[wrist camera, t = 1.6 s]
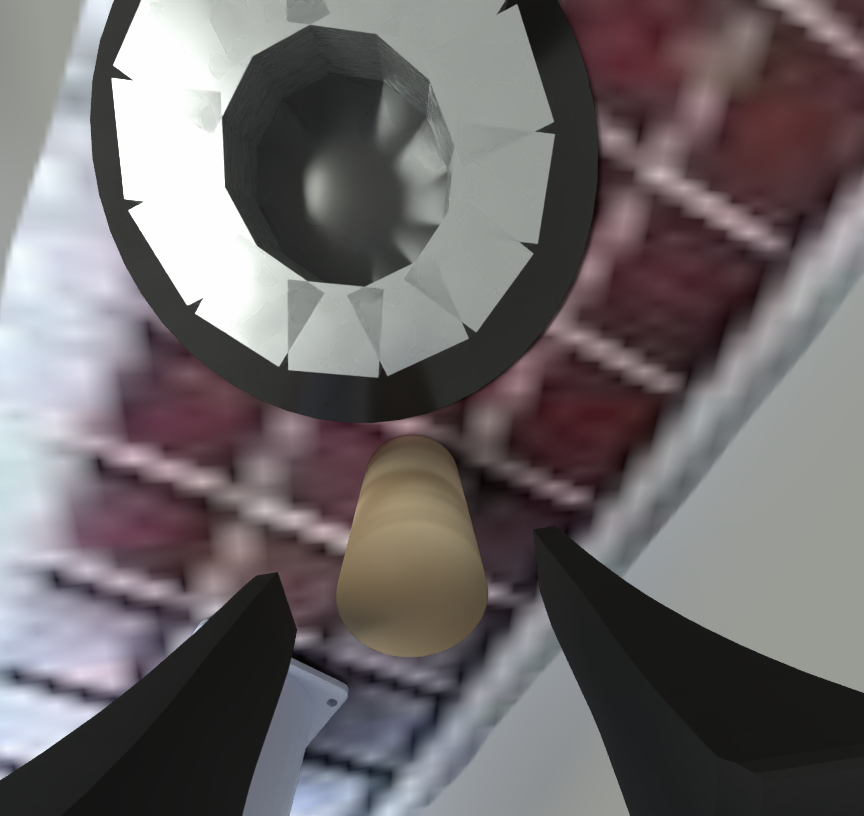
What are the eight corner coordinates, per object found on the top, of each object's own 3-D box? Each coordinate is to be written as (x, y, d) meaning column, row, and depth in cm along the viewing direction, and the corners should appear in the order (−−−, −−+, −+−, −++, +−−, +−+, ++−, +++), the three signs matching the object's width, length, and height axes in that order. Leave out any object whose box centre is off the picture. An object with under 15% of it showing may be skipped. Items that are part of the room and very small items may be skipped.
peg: (423, 534, 18) (431, 678, 11) (347, 490, 17) (307, 616, 11) (476, 467, 17) (518, 578, 11) (399, 417, 17) (391, 503, 10)
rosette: (414, 493, 18) (414, 530, 15) (18, 249, 14) (-73, 240, 12) (694, 128, 14) (760, 91, 11) (253, -309, 11) (199, -508, 8)
